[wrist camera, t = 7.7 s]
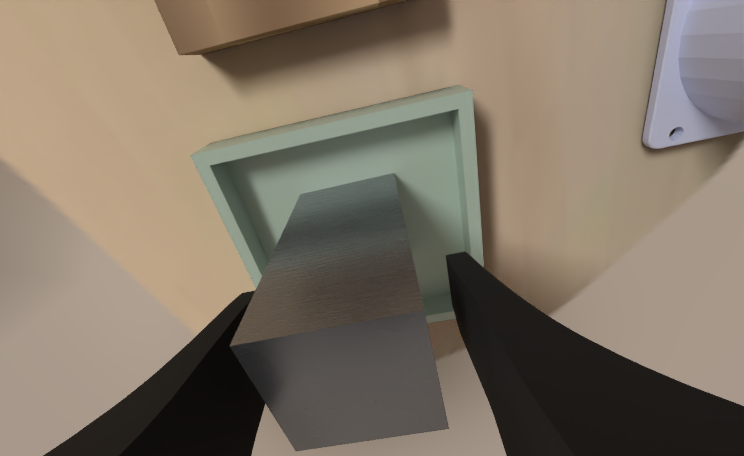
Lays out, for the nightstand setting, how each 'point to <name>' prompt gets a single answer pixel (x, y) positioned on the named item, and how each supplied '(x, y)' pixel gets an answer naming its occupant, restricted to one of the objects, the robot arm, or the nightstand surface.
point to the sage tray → (354, 163)
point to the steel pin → (342, 323)
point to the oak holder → (248, 19)
